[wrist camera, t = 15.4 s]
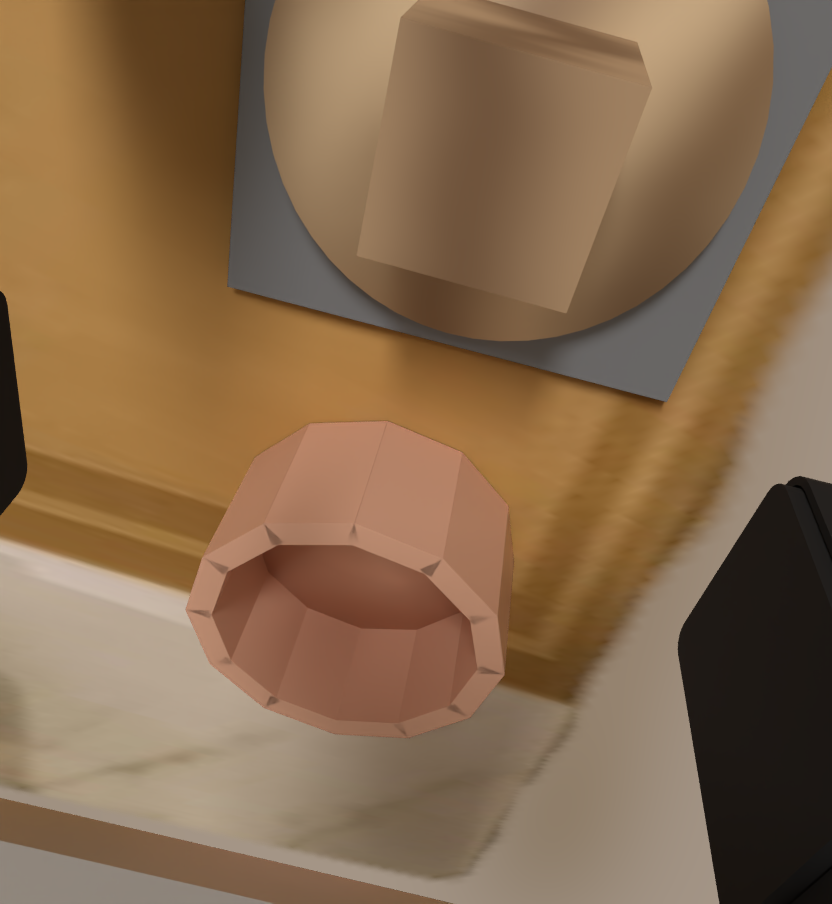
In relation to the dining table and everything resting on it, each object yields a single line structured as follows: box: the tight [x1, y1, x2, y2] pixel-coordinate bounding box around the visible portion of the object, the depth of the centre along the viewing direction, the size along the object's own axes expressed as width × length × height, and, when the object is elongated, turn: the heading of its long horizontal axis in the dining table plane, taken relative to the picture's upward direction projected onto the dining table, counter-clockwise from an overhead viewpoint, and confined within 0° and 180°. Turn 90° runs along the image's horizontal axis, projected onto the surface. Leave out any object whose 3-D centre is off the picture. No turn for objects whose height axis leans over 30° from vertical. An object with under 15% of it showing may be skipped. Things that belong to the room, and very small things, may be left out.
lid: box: [264, 0, 774, 341], centre depth 21 cm, size 14×14×6 cm
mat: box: [227, 0, 832, 402], centre depth 23 cm, size 16×16×1 cm
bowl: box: [186, 421, 514, 738], centre depth 33 cm, size 12×12×6 cm
